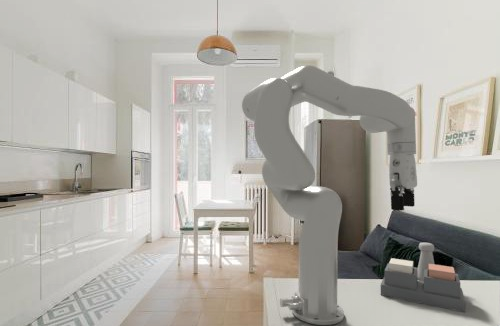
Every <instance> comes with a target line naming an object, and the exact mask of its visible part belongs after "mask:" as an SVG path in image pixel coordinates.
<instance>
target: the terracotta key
mask: <svg viewBox="0 0 500 326" xmlns="http://www.w3.org/2000/svg"><path fill="white" fill-rule="evenodd" d="M455 274H456V272H455V268H454V267H453V266H447V265H443V264H442V265H441V264H435V263H434V264H429V277H433V278H439V279H445V280H452V281H455Z"/></svg>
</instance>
